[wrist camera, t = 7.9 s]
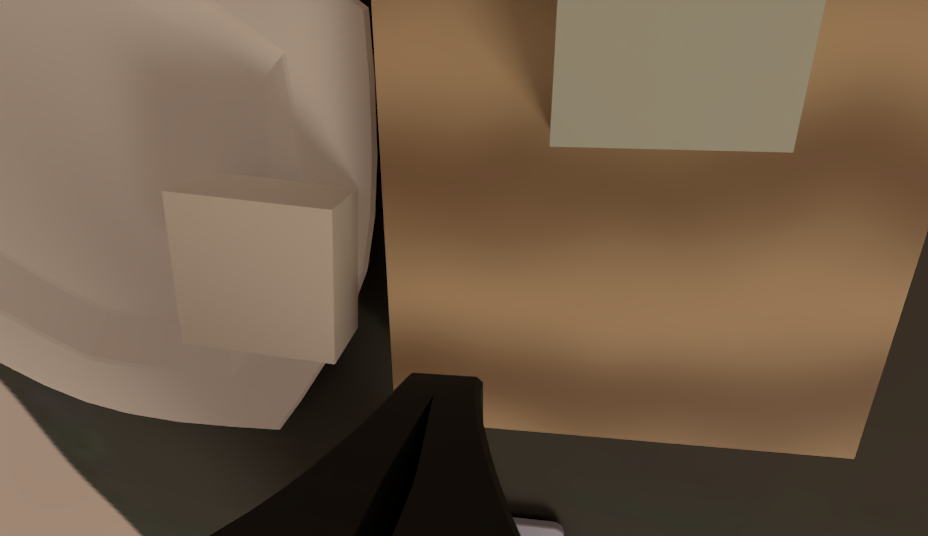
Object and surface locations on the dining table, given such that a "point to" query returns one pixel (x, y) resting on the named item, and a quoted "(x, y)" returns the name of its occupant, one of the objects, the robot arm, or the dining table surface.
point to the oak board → (649, 237)
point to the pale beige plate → (162, 182)
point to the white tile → (264, 264)
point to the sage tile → (682, 73)
